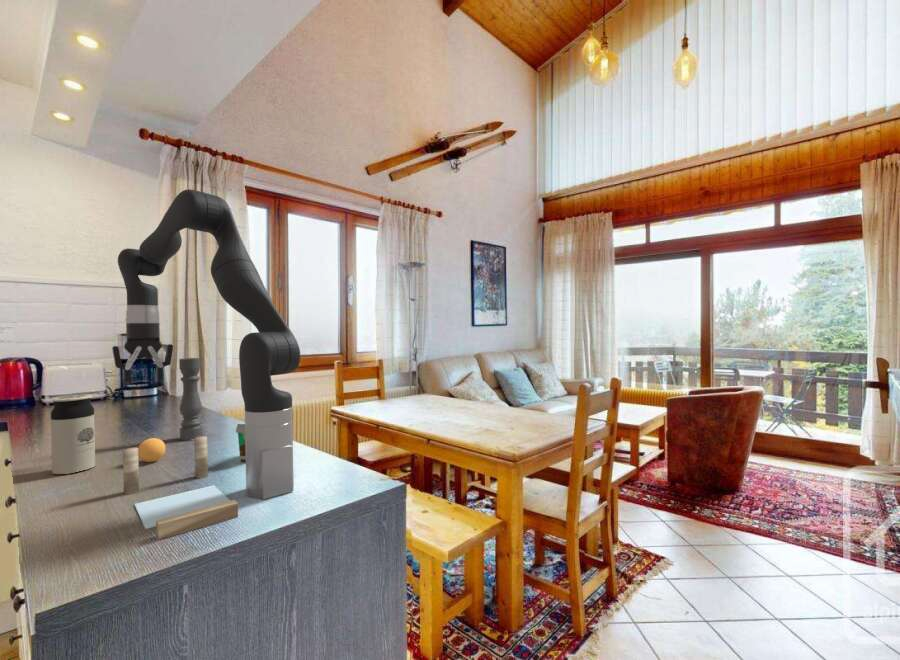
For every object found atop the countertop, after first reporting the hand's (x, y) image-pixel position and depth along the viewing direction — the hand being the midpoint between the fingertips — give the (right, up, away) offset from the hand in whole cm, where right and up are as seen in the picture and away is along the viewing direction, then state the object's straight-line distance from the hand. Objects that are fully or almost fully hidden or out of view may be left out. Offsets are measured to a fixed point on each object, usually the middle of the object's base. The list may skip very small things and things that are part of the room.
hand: (144, 382), depth 119 cm
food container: (+35, -19, -6) cm, 41 cm away
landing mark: (+33, -19, -36) cm, 53 cm away
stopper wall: (+42, -19, -45) cm, 64 cm away
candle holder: (+4, -20, +15) cm, 25 cm away
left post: (+18, -20, -29) cm, 39 cm away
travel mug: (-7, -20, -14) cm, 25 cm away
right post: (+27, -19, -20) cm, 39 cm away
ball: (+8, -17, -8) cm, 20 cm away
